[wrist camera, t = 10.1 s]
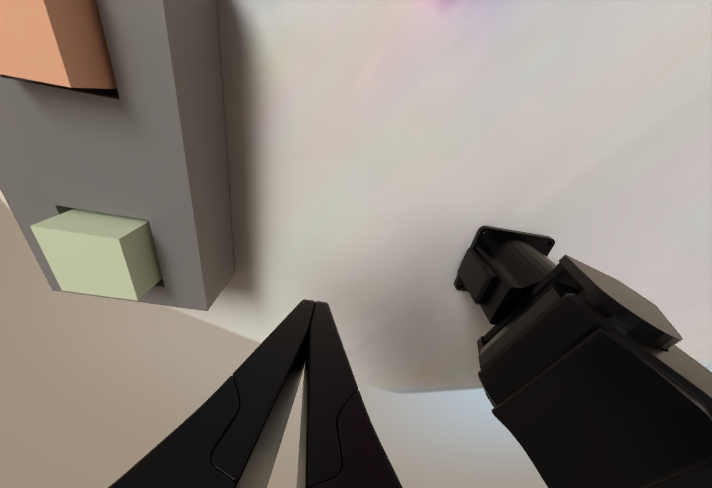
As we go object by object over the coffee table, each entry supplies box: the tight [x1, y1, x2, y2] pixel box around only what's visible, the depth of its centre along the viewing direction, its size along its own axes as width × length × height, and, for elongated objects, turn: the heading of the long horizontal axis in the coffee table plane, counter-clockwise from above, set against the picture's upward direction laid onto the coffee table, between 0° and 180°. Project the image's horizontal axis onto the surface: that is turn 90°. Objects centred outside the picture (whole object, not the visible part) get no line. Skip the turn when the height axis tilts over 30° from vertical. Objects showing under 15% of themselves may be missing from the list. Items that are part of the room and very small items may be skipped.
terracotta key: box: [0, 0, 117, 89], centre depth 12 cm, size 5×5×6 cm
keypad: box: [0, 0, 235, 311], centre depth 16 cm, size 11×21×5 cm, turn 170°
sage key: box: [30, 208, 162, 301], centre depth 18 cm, size 5×5×6 cm
